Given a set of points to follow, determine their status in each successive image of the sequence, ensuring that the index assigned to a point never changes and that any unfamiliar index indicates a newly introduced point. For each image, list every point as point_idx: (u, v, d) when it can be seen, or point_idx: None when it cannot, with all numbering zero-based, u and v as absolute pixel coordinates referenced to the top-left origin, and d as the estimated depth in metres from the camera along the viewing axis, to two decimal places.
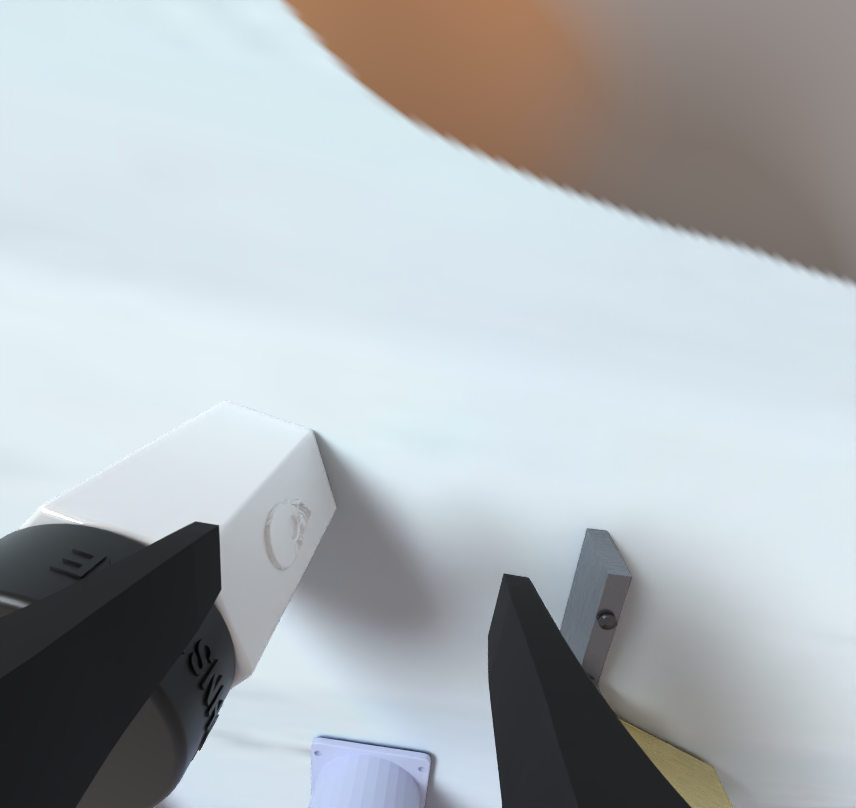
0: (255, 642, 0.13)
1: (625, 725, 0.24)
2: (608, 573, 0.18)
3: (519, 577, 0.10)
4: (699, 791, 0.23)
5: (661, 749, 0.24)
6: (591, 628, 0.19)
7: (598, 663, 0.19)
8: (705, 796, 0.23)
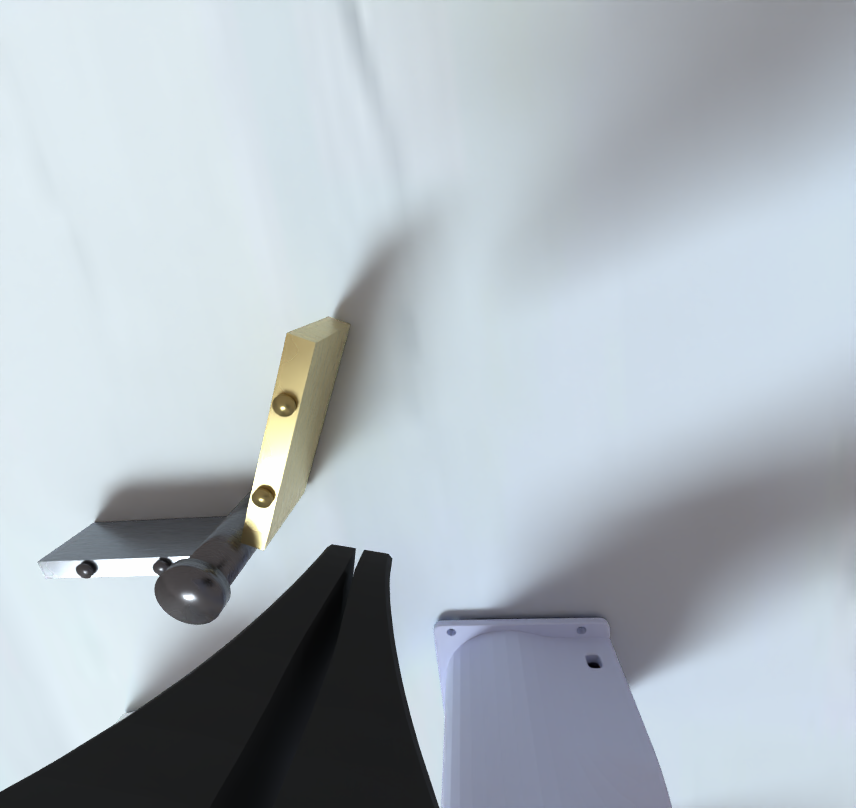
0: None
1: None
2: (47, 577, 0.20)
3: (378, 553, 0.10)
4: None
5: None
6: (104, 575, 0.20)
7: (136, 562, 0.19)
8: None
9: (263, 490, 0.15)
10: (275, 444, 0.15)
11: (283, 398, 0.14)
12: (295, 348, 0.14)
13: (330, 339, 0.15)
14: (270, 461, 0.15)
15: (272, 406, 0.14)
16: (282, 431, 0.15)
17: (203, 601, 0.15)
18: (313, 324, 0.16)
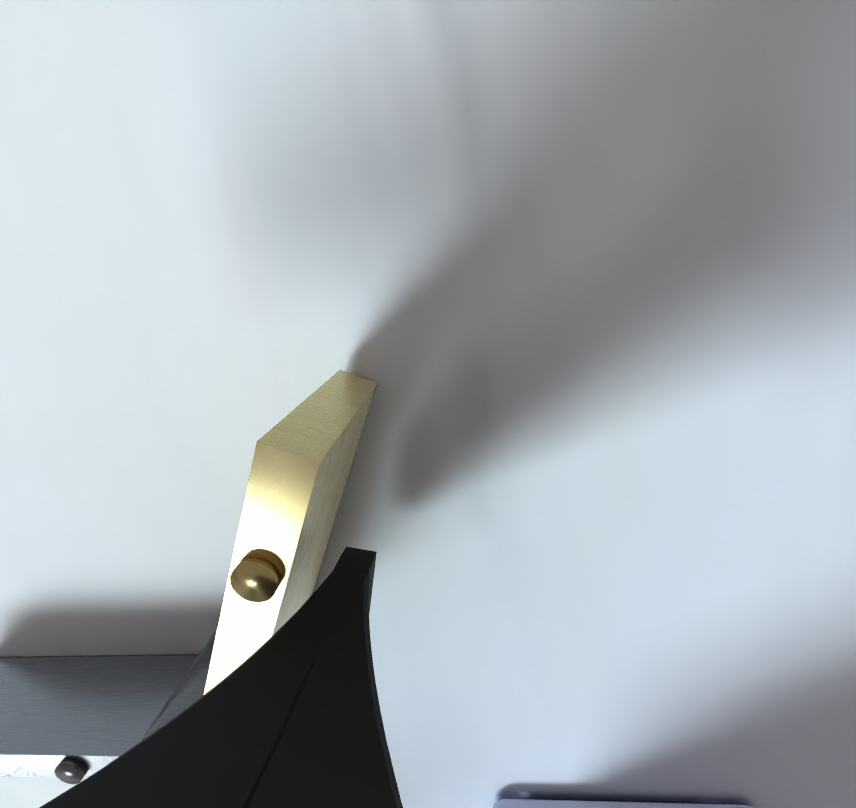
0: None
1: None
2: None
3: (360, 550, 0.10)
4: None
5: None
6: None
7: (31, 760, 0.12)
8: None
9: None
10: (240, 641, 0.08)
11: (253, 568, 0.07)
12: (276, 472, 0.06)
13: (347, 429, 0.08)
14: (232, 668, 0.08)
15: (231, 581, 0.07)
16: (253, 620, 0.07)
17: None
18: (315, 399, 0.08)
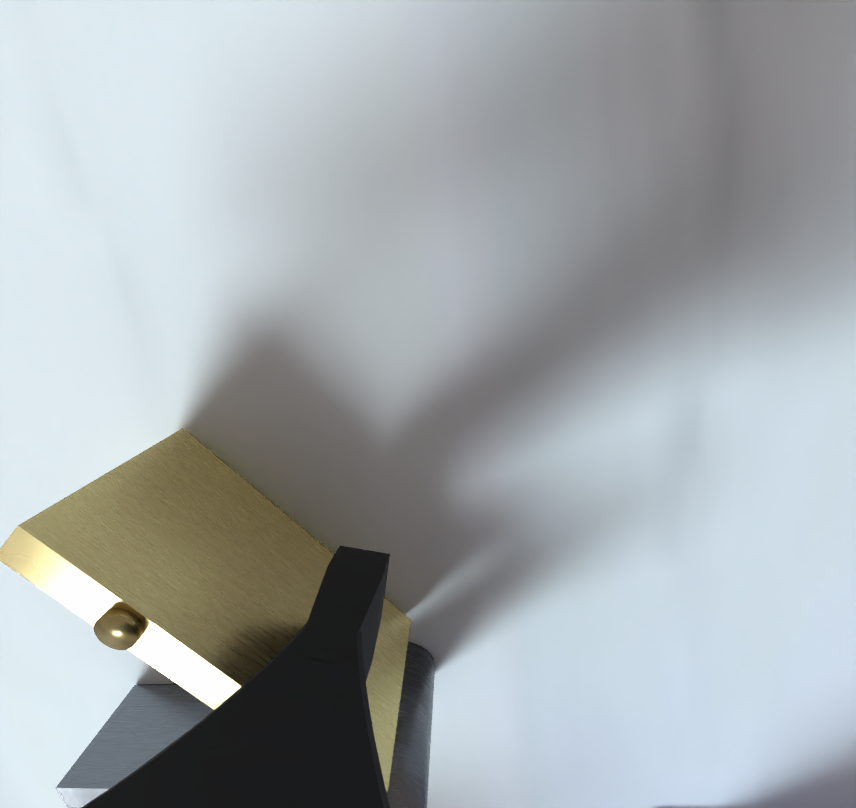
0: None
1: None
2: (70, 807, 0.13)
3: (354, 549, 0.10)
4: None
5: None
6: None
7: None
8: None
9: None
10: (193, 675, 0.08)
11: (103, 624, 0.08)
12: (23, 559, 0.07)
13: (111, 481, 0.09)
14: (222, 697, 0.08)
15: (115, 646, 0.08)
16: (172, 654, 0.08)
17: None
18: None
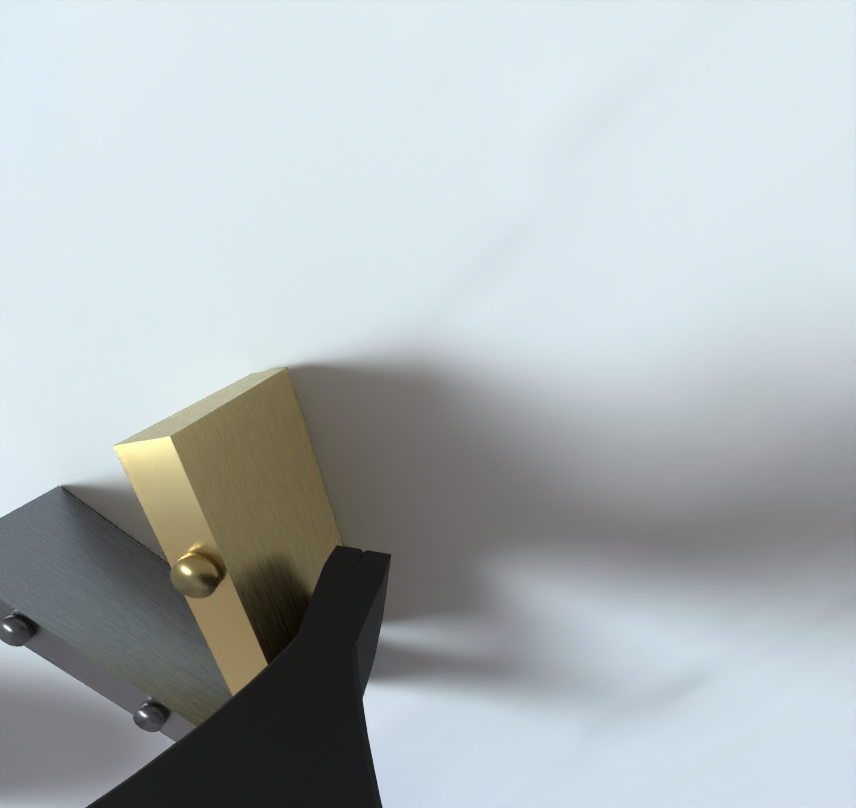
0: None
1: None
2: None
3: (350, 548, 0.10)
4: None
5: None
6: (37, 650, 0.10)
7: (115, 681, 0.11)
8: None
9: None
10: (231, 643, 0.08)
11: (185, 565, 0.07)
12: (146, 466, 0.06)
13: (235, 409, 0.08)
14: (243, 673, 0.08)
15: (179, 587, 0.07)
16: (227, 617, 0.07)
17: None
18: (204, 400, 0.08)
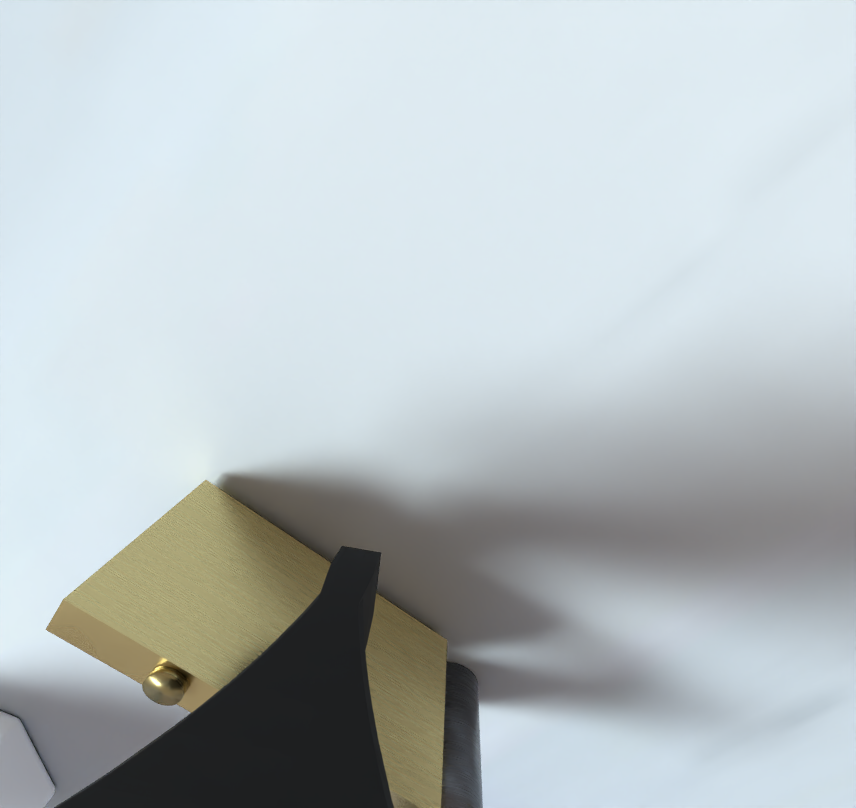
0: None
1: None
2: None
3: (356, 549, 0.10)
4: None
5: None
6: None
7: None
8: None
9: None
10: None
11: (151, 683, 0.08)
12: (72, 629, 0.08)
13: (144, 543, 0.09)
14: None
15: (163, 702, 0.08)
16: None
17: None
18: None
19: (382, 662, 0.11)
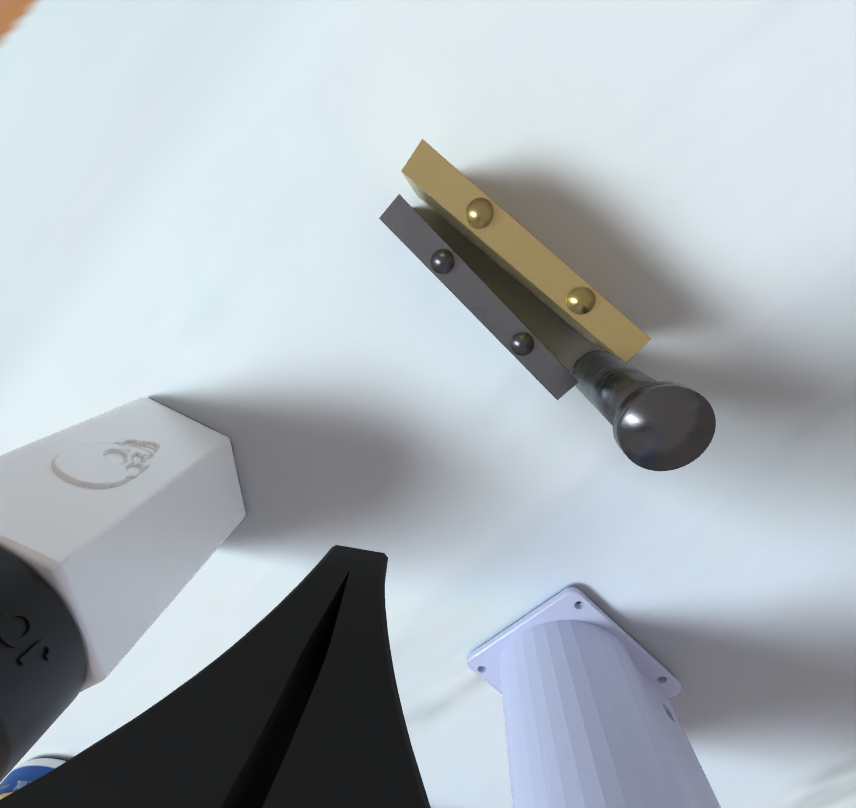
0: (56, 541, 0.12)
1: (547, 305, 0.17)
2: (380, 219, 0.14)
3: (374, 552, 0.10)
4: (466, 233, 0.14)
5: (502, 267, 0.16)
6: (446, 286, 0.14)
7: (502, 312, 0.14)
8: (459, 227, 0.14)
9: (572, 294, 0.12)
10: (521, 251, 0.12)
11: (471, 209, 0.12)
12: (421, 168, 0.12)
13: None
14: (540, 269, 0.12)
15: (475, 228, 0.12)
16: (509, 234, 0.12)
17: (673, 447, 0.12)
18: None
19: None
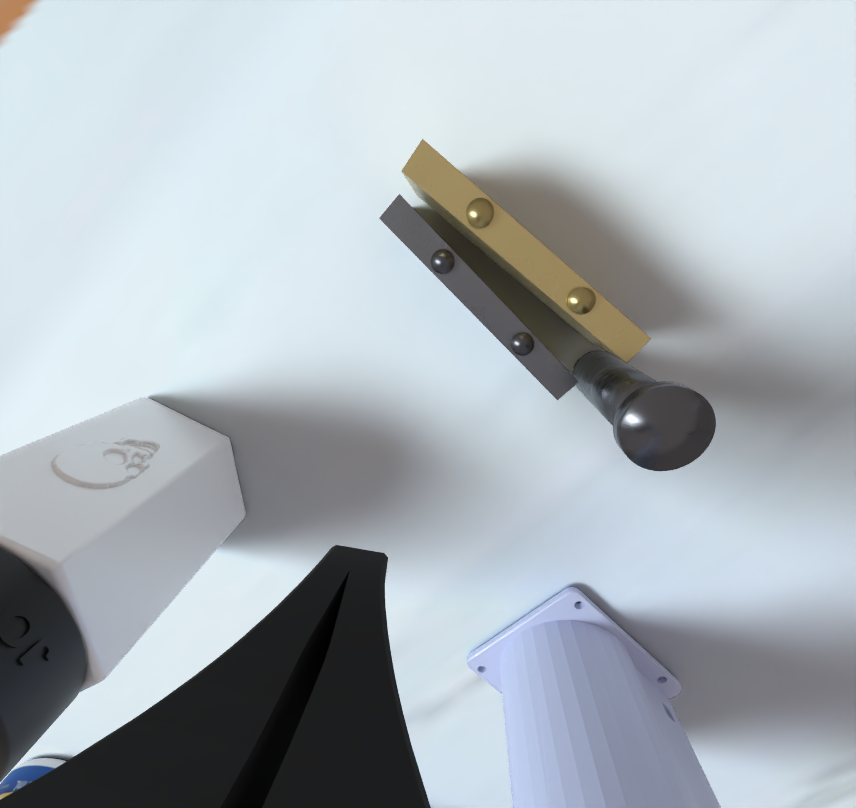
0: (56, 541, 0.12)
1: (547, 305, 0.17)
2: None
3: (374, 552, 0.10)
4: (466, 233, 0.14)
5: (502, 267, 0.16)
6: (446, 286, 0.14)
7: (502, 312, 0.14)
8: (459, 227, 0.14)
9: (572, 294, 0.12)
10: (522, 251, 0.12)
11: (471, 209, 0.12)
12: (421, 168, 0.12)
13: None
14: (540, 268, 0.12)
15: (475, 228, 0.12)
16: (509, 234, 0.12)
17: (673, 447, 0.12)
18: None
19: None
